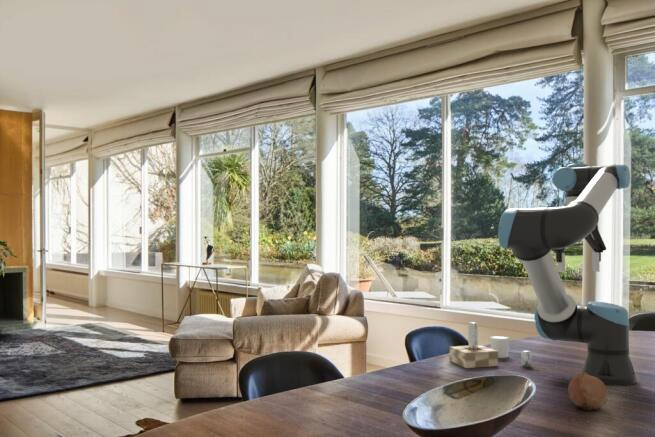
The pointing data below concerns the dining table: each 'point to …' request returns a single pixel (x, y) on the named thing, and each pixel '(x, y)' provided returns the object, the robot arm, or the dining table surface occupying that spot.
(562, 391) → the dining table surface
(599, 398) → the onion
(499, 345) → the shot glass
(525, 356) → the short pin
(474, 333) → the long pin
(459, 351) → the hole block
